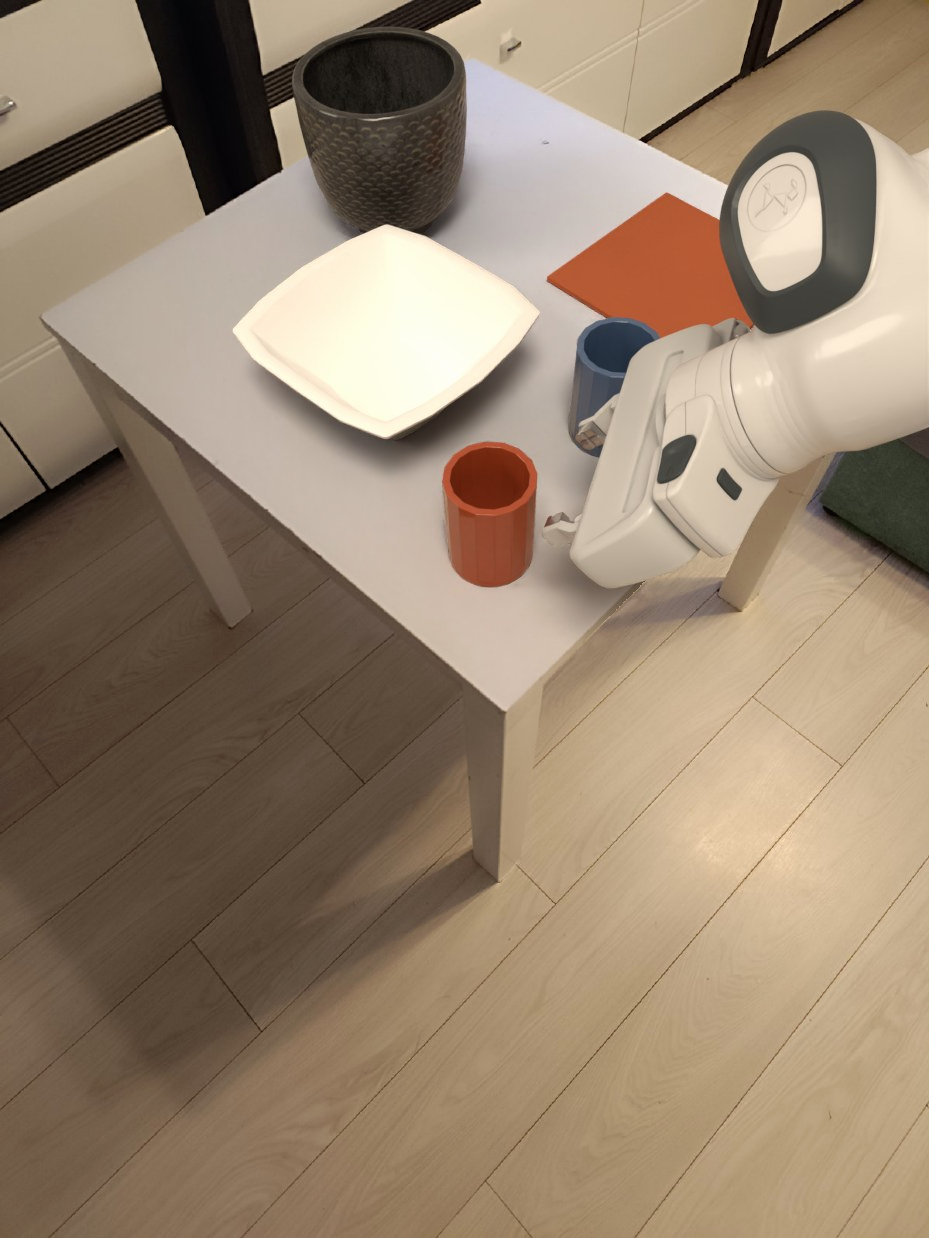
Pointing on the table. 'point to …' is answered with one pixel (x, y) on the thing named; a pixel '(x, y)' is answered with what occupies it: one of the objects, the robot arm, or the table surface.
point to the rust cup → (490, 512)
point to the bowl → (386, 330)
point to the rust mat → (657, 270)
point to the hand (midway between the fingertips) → (566, 483)
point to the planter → (384, 124)
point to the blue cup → (603, 366)
